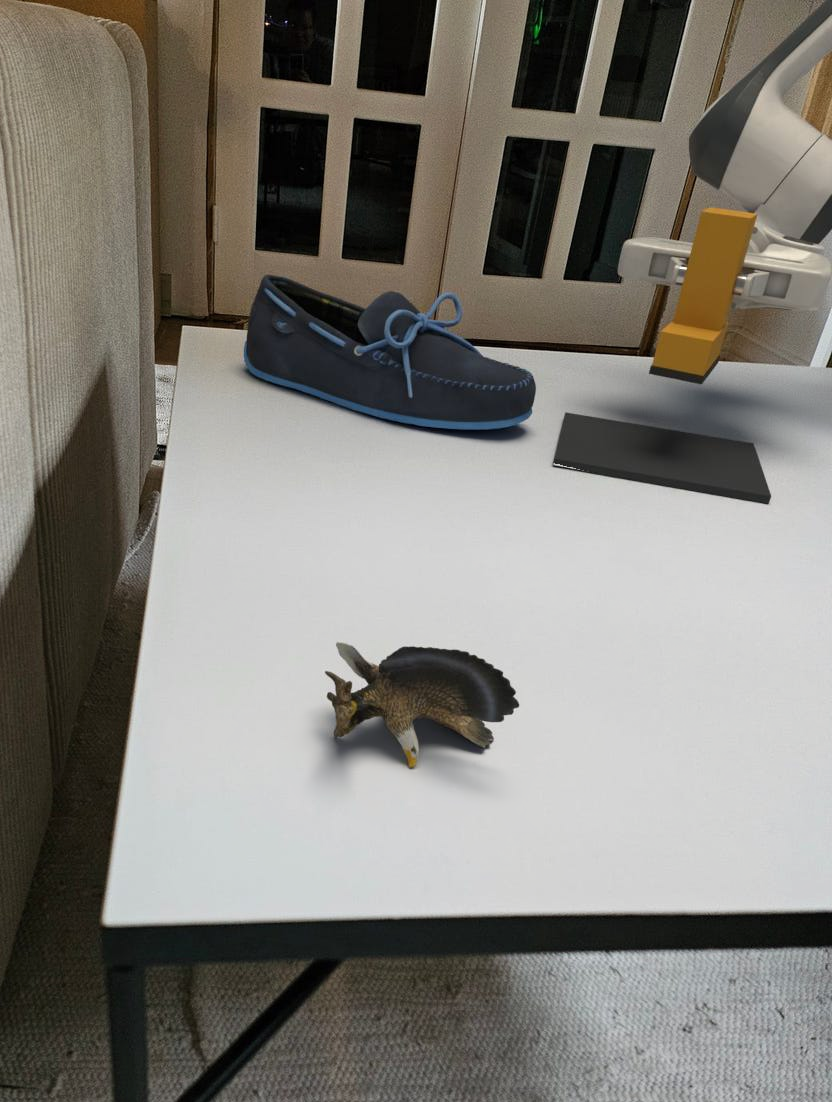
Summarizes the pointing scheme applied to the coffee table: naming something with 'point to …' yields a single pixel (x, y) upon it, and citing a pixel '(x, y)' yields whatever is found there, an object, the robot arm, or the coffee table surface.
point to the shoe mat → (662, 457)
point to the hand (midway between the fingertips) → (710, 281)
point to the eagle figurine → (423, 694)
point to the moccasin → (381, 359)
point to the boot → (705, 297)
